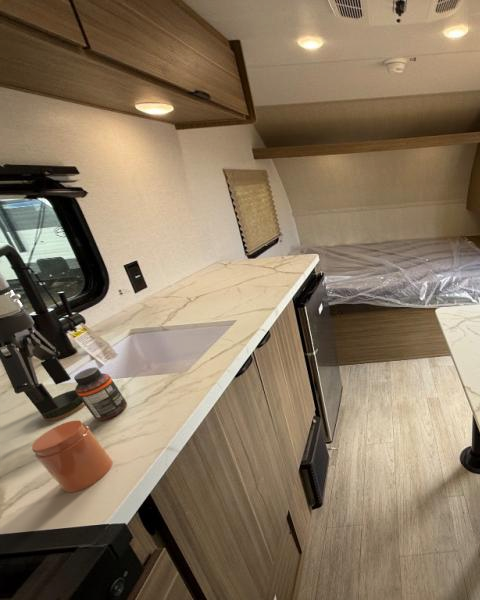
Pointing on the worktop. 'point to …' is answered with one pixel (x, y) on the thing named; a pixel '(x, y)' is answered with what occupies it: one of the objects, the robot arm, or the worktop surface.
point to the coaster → (65, 413)
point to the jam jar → (72, 455)
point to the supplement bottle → (99, 394)
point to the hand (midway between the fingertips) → (57, 395)
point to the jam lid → (64, 404)
